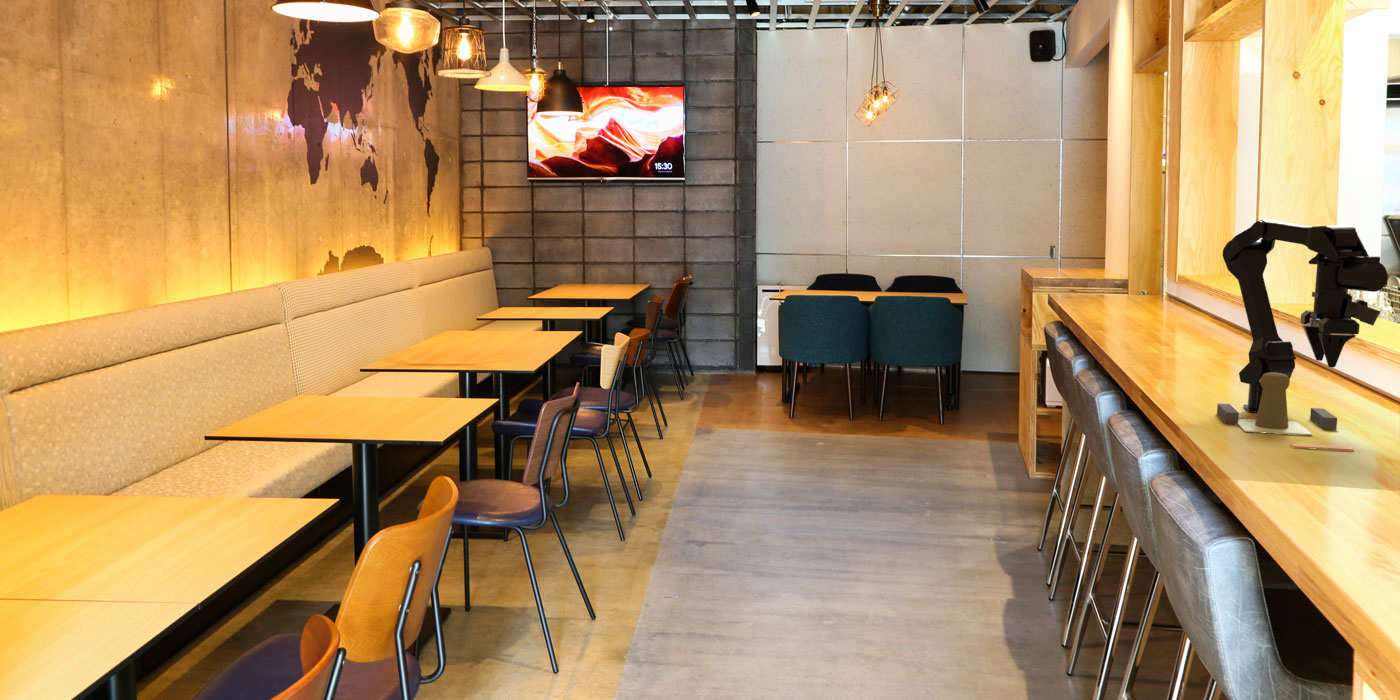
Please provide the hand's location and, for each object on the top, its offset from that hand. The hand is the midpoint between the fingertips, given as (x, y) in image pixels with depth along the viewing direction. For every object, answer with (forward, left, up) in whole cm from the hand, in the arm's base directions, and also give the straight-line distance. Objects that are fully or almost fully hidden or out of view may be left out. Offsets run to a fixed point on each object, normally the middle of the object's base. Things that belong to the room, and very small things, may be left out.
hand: (1325, 363), depth 210 cm
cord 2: (-2, +1, -13) cm, 13 cm away
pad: (+5, -10, -13) cm, 17 cm away
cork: (+5, -10, -13) cm, 17 cm away
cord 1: (-2, -17, -13) cm, 21 cm away
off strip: (+22, -5, -13) cm, 26 cm away
